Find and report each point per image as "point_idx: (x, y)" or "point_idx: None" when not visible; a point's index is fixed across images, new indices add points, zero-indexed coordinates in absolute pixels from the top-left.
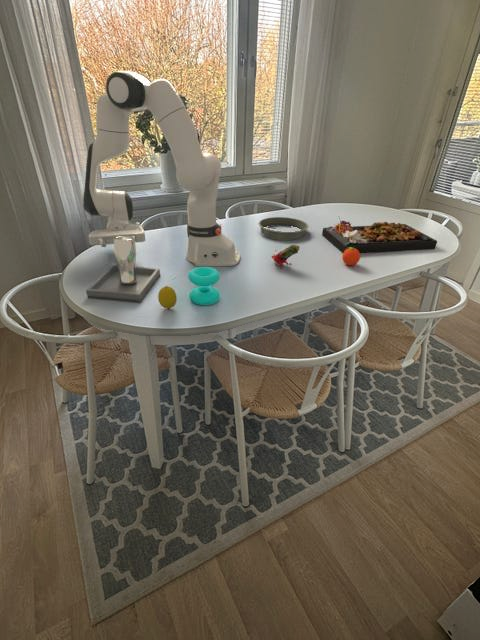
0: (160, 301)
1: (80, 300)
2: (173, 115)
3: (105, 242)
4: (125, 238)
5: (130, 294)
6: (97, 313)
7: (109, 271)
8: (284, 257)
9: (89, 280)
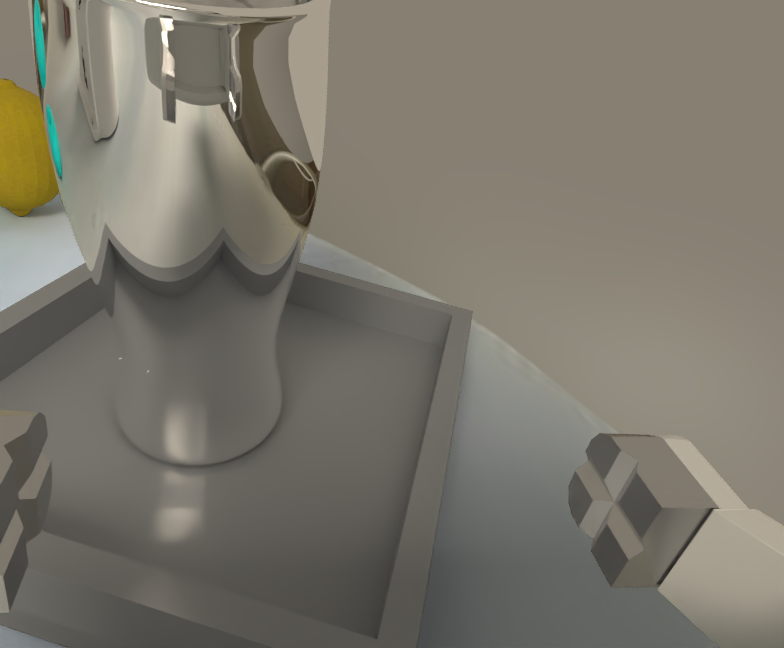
0: None
1: (487, 350)
2: None
3: (631, 512)
4: (154, 38)
5: None
6: (364, 266)
7: (402, 525)
8: None
9: (575, 570)
